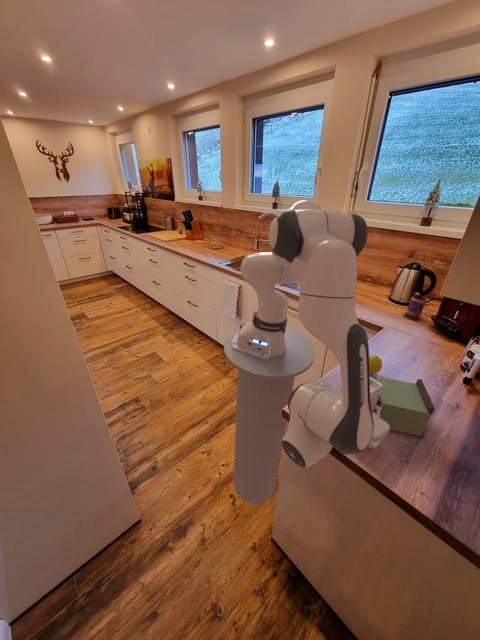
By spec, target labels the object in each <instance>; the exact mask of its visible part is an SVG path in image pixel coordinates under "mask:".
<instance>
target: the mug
mask: <svg viewBox="0 0 480 640" xmlns="http://www.w3.org/2000/svg"><path fill="white" fill-rule="evenodd" d="M426 302H427V297H426V296H425V295H422V294H420V292H415V293H414V294H413V296H412V297H411V299H410V301H409V303H408V306H407V308H406V310H405V312H404V316H405V318H407V319H408V320H414V321H418V320H420V318H421V316H422V314H423V310H424V307H425V304H426Z"/></svg>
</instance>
